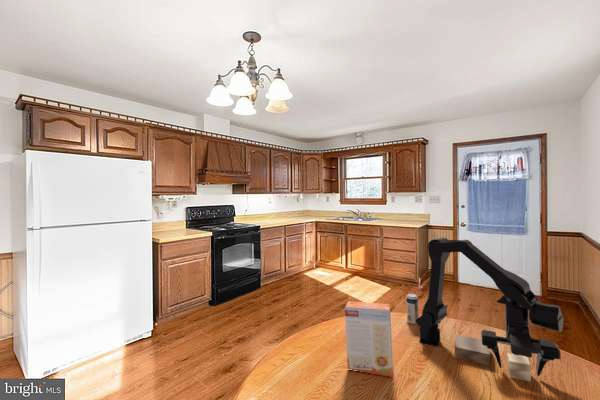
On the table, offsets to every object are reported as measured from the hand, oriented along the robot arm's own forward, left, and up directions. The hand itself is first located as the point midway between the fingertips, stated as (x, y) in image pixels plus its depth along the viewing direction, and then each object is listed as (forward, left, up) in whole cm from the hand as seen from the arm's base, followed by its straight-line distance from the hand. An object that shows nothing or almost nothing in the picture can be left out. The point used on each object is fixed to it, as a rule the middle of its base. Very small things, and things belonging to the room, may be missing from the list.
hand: (518, 371), depth 87 cm
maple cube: (0, 0, -1) cm, 1 cm away
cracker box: (-41, -17, -1) cm, 44 cm away
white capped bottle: (-34, +25, -1) cm, 42 cm away
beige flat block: (-12, +7, -1) cm, 14 cm away
